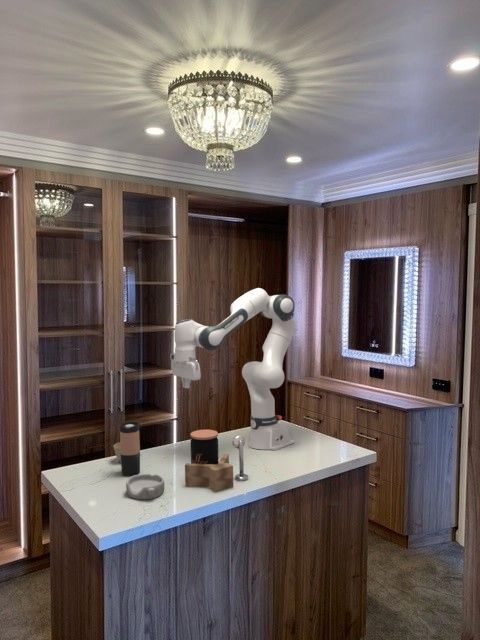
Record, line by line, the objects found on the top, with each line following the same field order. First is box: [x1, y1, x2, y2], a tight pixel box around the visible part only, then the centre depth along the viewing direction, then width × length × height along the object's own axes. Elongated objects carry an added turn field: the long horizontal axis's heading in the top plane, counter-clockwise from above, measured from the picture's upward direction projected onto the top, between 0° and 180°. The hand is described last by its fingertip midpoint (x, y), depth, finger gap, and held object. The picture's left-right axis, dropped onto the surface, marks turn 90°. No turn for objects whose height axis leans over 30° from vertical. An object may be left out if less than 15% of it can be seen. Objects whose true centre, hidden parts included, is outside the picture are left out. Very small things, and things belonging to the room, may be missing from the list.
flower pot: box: [113, 442, 121, 463], centre depth 209 cm, size 10×10×7 cm
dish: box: [125, 473, 165, 500], centre depth 176 cm, size 14×14×5 cm
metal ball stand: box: [231, 434, 249, 482], centre depth 187 cm, size 5×5×16 cm
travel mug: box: [119, 421, 141, 478], centre depth 194 cm, size 8×8×20 cm
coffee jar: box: [190, 429, 220, 465], centre depth 187 cm, size 11×11×18 cm
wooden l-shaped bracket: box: [184, 453, 234, 493], centre depth 182 cm, size 20×13×8 cm, turn 125°
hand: (186, 387), depth 212 cm, fingers closed
